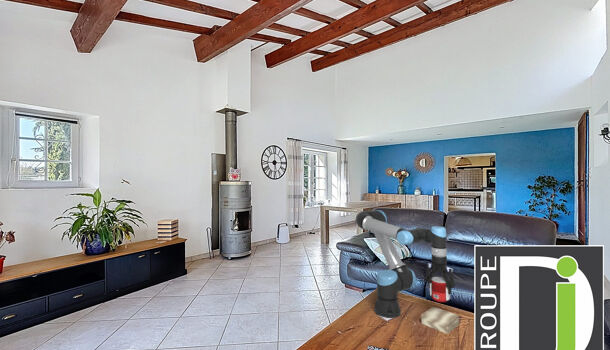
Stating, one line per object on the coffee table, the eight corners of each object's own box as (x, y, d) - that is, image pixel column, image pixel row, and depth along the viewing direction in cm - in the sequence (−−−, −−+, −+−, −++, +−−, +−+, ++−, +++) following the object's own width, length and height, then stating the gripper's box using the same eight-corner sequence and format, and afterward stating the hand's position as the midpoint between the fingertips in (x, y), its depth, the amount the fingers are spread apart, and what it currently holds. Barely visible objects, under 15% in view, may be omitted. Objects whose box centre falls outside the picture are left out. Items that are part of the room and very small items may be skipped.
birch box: (421, 323, 155) (421, 314, 155) (433, 315, 164) (433, 306, 164) (447, 334, 144) (447, 324, 144) (458, 324, 153) (458, 315, 153)
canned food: (449, 303, 150) (449, 282, 150) (433, 301, 151) (433, 281, 151) (445, 297, 157) (445, 277, 157) (430, 295, 159) (429, 276, 159)
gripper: (417, 252, 160) (418, 293, 160) (456, 260, 144) (457, 305, 144) (423, 250, 165) (424, 289, 165) (462, 257, 149) (463, 301, 149)
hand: (439, 297), depth 154 cm, fingers closed on canned food, 8 cm apart
